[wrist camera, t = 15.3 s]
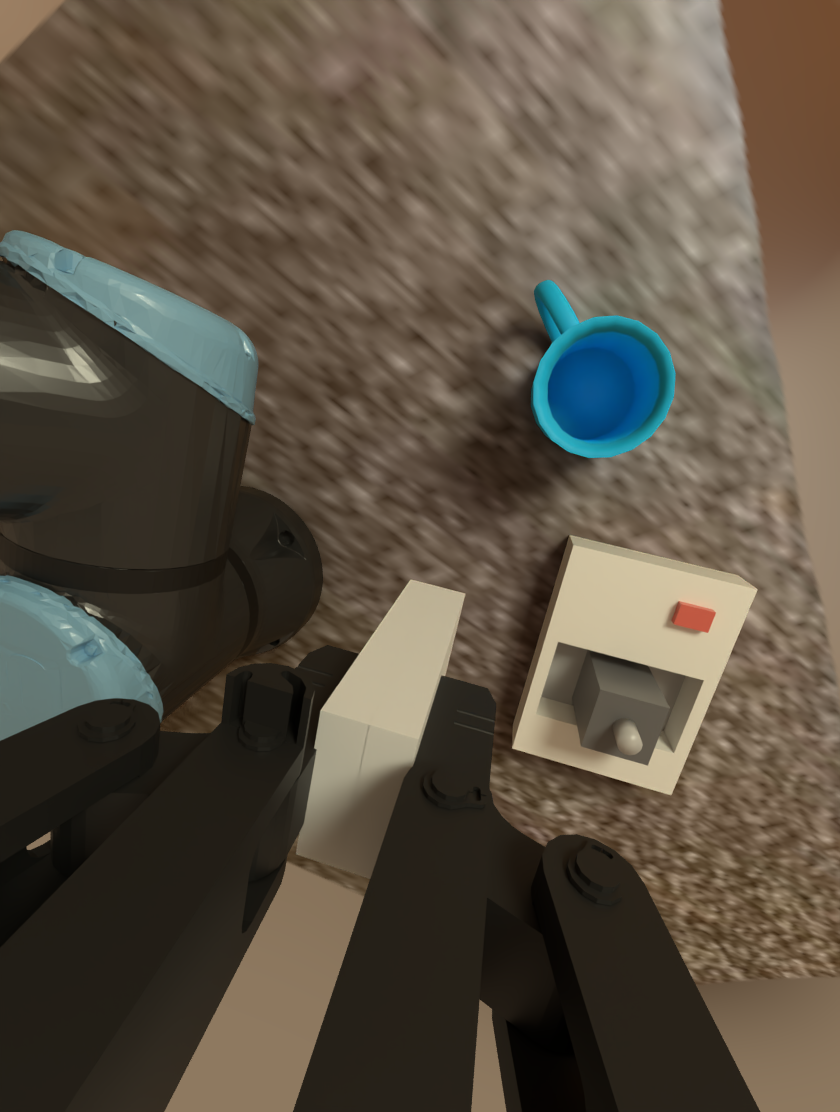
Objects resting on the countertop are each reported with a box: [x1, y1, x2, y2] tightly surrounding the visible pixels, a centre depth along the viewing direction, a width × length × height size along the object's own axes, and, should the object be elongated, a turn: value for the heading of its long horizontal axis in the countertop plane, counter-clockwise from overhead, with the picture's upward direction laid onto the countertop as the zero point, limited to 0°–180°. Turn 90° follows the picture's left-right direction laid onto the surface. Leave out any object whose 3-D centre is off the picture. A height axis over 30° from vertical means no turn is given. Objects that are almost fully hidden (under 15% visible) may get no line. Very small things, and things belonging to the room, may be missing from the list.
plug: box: [572, 650, 670, 766], centre depth 39 cm, size 5×5×9 cm
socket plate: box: [512, 535, 758, 795], centre depth 41 cm, size 13×18×4 cm
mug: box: [531, 280, 675, 458], centre depth 35 cm, size 12×8×8 cm
